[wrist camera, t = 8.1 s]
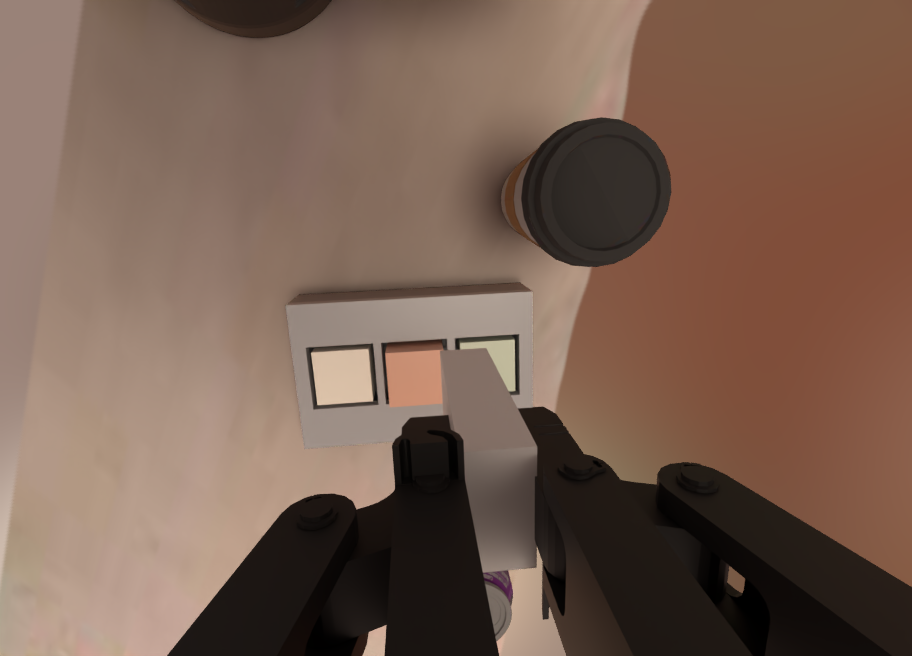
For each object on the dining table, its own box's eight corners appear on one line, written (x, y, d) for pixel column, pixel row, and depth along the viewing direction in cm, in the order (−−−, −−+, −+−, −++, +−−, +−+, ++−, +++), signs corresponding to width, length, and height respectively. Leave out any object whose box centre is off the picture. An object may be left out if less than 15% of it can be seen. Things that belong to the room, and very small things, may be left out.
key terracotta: (387, 342, 39) (385, 353, 36) (441, 339, 39) (443, 349, 36) (391, 392, 40) (389, 407, 37) (443, 389, 40) (446, 403, 37)
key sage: (456, 333, 41) (459, 343, 38) (507, 330, 41) (514, 339, 38) (458, 381, 42) (462, 394, 39) (508, 378, 42) (515, 391, 39)
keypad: (299, 294, 40) (285, 305, 36) (520, 282, 42) (532, 291, 37) (315, 424, 43) (304, 449, 39) (521, 409, 45) (532, 431, 40)
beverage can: (430, 554, 48) (435, 665, 36) (413, 494, 46) (413, 590, 34) (498, 538, 48) (525, 643, 36) (485, 477, 46) (508, 567, 35)
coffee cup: (519, 267, 41) (576, 299, 27) (469, 183, 39) (501, 168, 25) (602, 214, 41) (705, 218, 26) (555, 126, 39) (639, 77, 24)
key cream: (318, 342, 40) (311, 352, 37) (371, 338, 40) (368, 348, 37) (324, 391, 41) (317, 405, 38) (375, 387, 41) (373, 401, 38)
